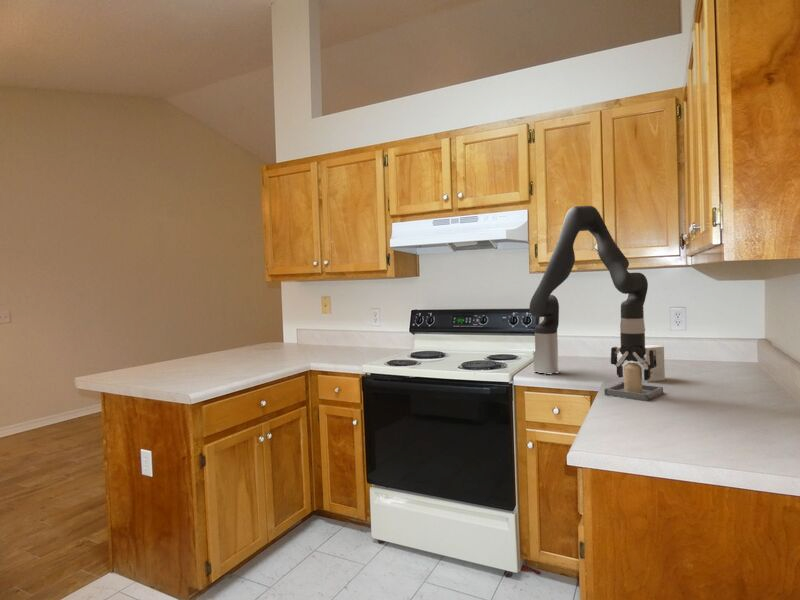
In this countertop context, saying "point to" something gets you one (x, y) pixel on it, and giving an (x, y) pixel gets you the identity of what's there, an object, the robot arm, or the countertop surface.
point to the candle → (633, 378)
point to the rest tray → (646, 394)
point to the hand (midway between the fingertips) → (633, 378)
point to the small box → (658, 371)
